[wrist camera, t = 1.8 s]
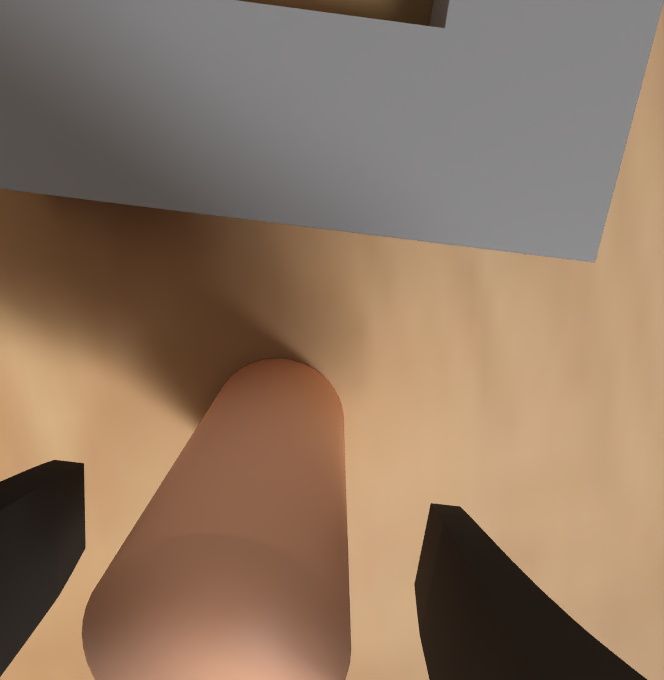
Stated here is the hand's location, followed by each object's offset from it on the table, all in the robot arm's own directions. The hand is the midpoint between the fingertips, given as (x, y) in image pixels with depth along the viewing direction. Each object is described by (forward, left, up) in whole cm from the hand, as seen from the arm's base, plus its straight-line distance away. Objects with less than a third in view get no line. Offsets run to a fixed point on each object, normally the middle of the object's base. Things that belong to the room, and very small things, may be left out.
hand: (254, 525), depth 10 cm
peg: (0, 0, -5) cm, 5 cm away
